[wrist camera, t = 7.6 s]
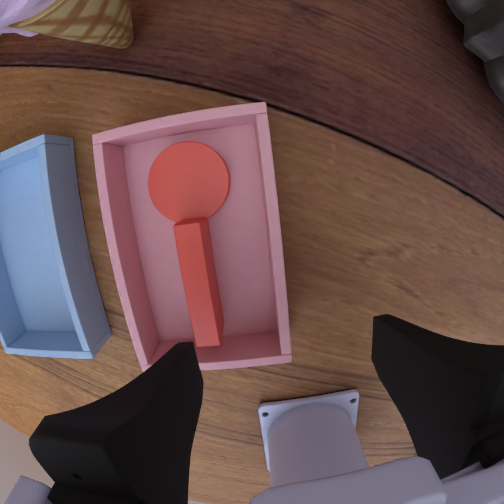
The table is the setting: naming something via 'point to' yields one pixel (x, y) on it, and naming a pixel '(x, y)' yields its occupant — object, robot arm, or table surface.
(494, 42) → the bundt pan
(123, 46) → the ice cream cone
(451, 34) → the table surface
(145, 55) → the table surface
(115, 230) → the rose bin
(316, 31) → the table surface
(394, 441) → the table surface
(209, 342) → the red spoon
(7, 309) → the blue bin
